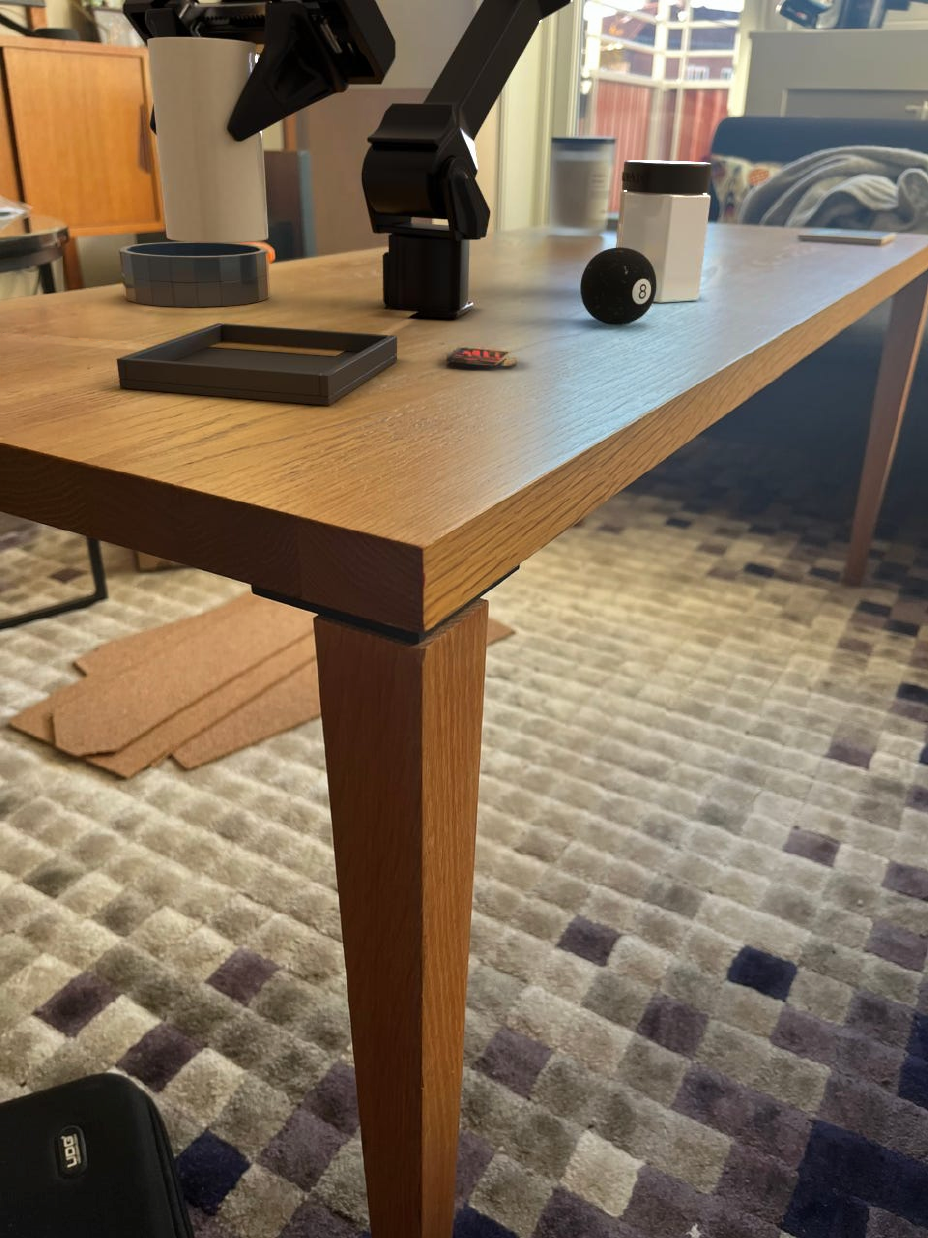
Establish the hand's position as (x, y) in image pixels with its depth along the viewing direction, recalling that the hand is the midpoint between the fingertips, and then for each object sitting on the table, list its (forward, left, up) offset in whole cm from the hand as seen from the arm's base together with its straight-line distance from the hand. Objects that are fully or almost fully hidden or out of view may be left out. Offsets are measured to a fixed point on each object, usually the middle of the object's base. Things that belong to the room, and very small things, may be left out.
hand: (193, 134), depth 61 cm
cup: (0, -1, -6) cm, 6 cm away
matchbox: (-17, -5, -13) cm, 23 cm away
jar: (-26, -42, -14) cm, 51 cm away
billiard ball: (-24, -24, -14) cm, 37 cm away
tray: (-5, +3, -13) cm, 15 cm away
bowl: (+12, -21, -13) cm, 27 cm away
